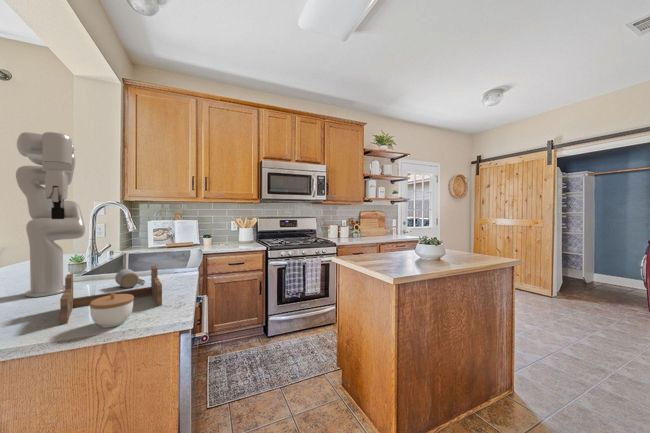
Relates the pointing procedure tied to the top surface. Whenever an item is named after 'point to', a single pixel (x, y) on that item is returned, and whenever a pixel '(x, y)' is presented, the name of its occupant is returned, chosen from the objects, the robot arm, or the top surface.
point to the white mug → (128, 278)
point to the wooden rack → (69, 302)
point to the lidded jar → (111, 309)
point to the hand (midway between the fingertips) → (58, 218)
